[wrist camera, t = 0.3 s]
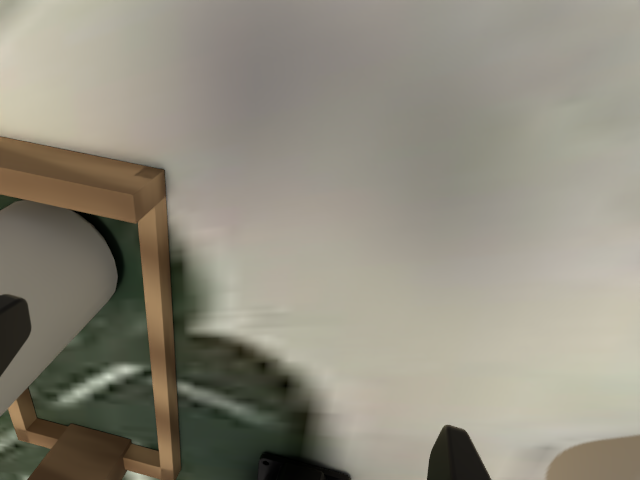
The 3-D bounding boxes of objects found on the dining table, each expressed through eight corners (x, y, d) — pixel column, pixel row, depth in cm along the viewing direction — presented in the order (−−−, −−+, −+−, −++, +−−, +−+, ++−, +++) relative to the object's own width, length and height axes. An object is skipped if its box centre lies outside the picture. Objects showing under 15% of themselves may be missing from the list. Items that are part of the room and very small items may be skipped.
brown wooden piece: (181, 472, 38) (126, 584, 32) (30, 431, 40) (-53, 529, 33) (164, 169, 25) (61, 252, 18) (-64, 123, 26) (-238, 184, 19)
